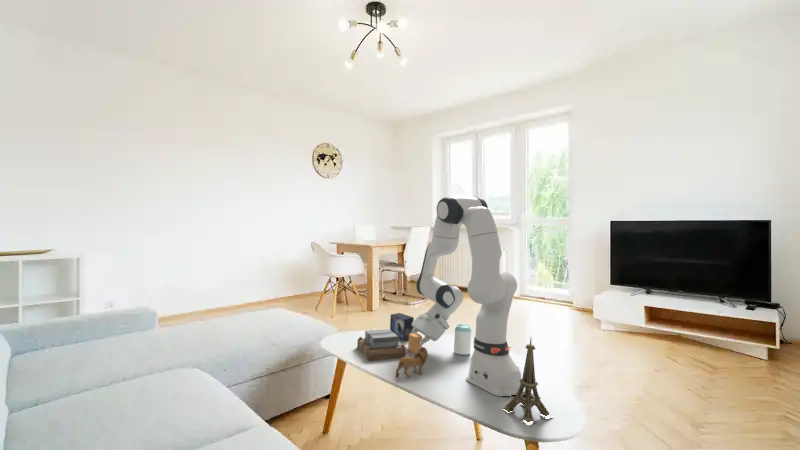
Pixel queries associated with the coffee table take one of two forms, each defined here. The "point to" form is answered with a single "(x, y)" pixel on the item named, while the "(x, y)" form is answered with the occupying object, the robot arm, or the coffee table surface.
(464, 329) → the can
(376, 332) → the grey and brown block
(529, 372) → the eiffel tower
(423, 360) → the lion figurine
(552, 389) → the coffee table surface
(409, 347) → the orange brick
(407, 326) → the small box
